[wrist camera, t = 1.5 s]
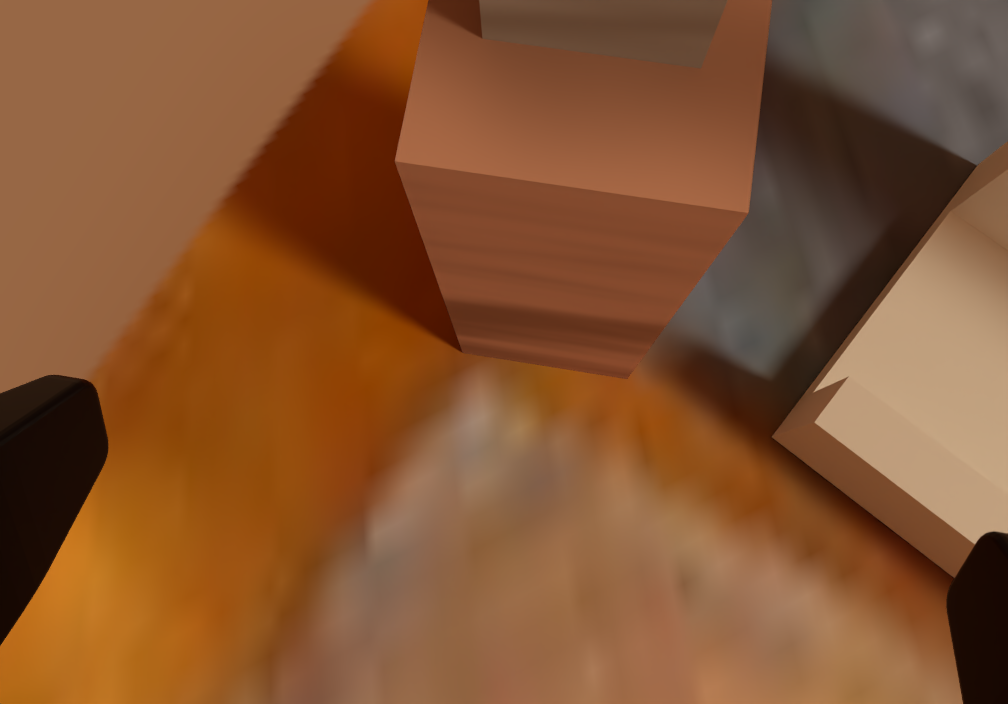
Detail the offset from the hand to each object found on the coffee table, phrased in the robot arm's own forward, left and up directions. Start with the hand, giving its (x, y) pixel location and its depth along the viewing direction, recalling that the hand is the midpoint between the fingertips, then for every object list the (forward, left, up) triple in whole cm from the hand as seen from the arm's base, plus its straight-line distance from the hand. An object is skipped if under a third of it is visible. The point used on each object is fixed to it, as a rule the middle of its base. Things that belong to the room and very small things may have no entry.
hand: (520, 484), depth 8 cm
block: (+6, +3, -15) cm, 17 cm away
